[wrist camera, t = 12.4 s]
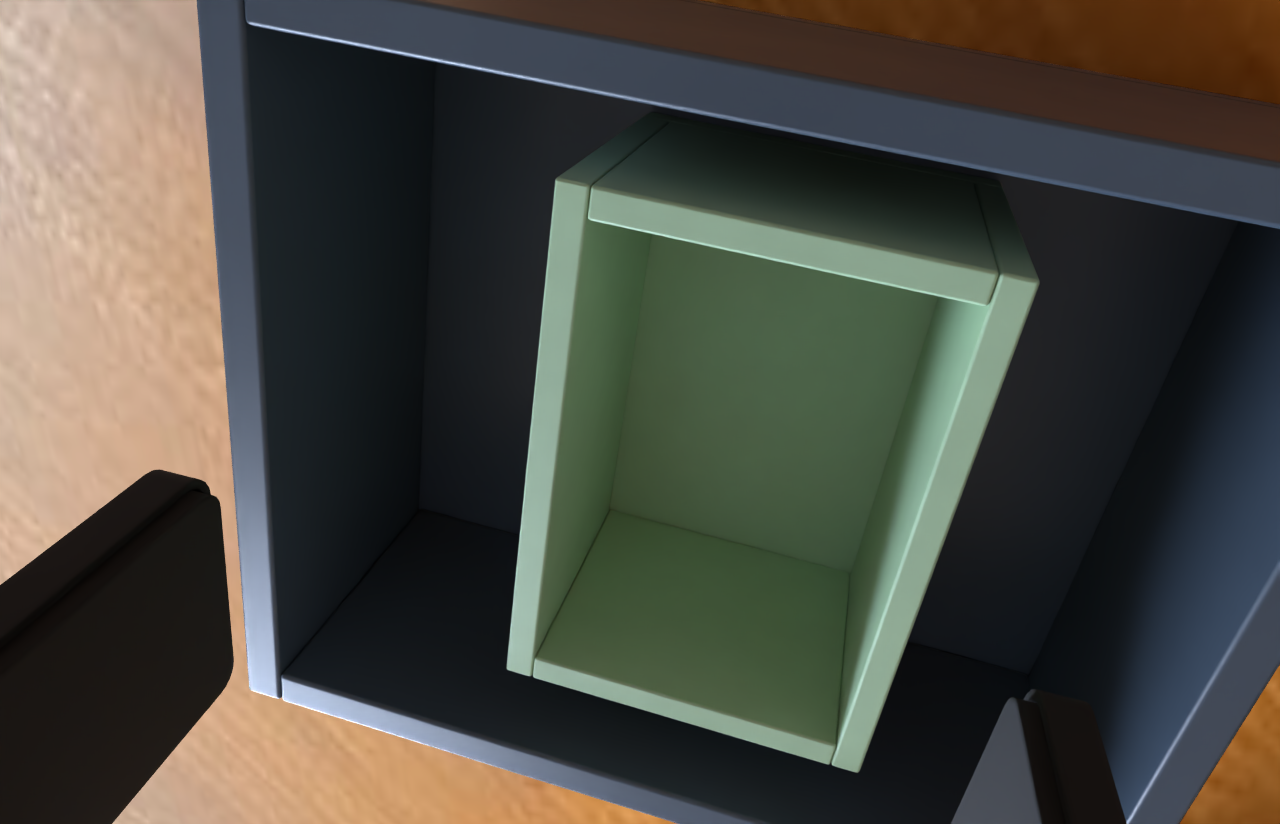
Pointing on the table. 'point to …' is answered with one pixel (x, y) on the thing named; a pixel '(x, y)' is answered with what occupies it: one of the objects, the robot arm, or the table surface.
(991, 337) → the sage bin
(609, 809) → the table surface
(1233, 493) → the tote
